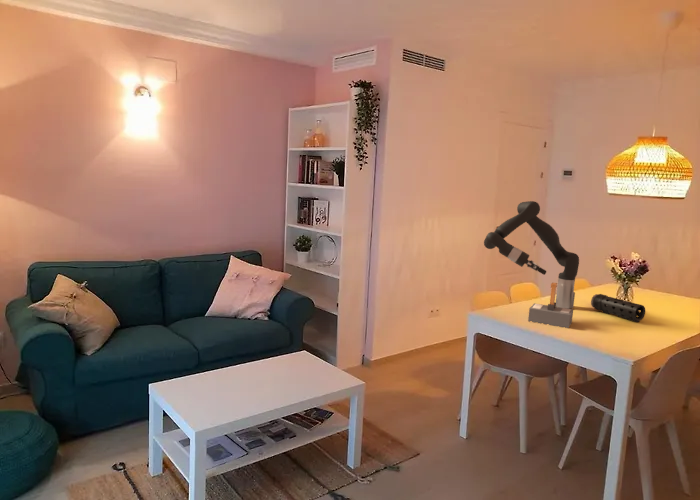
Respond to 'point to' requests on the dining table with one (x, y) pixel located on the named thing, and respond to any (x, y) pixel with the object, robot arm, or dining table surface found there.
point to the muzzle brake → (618, 307)
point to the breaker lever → (553, 293)
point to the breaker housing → (550, 315)
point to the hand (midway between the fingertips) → (545, 272)
